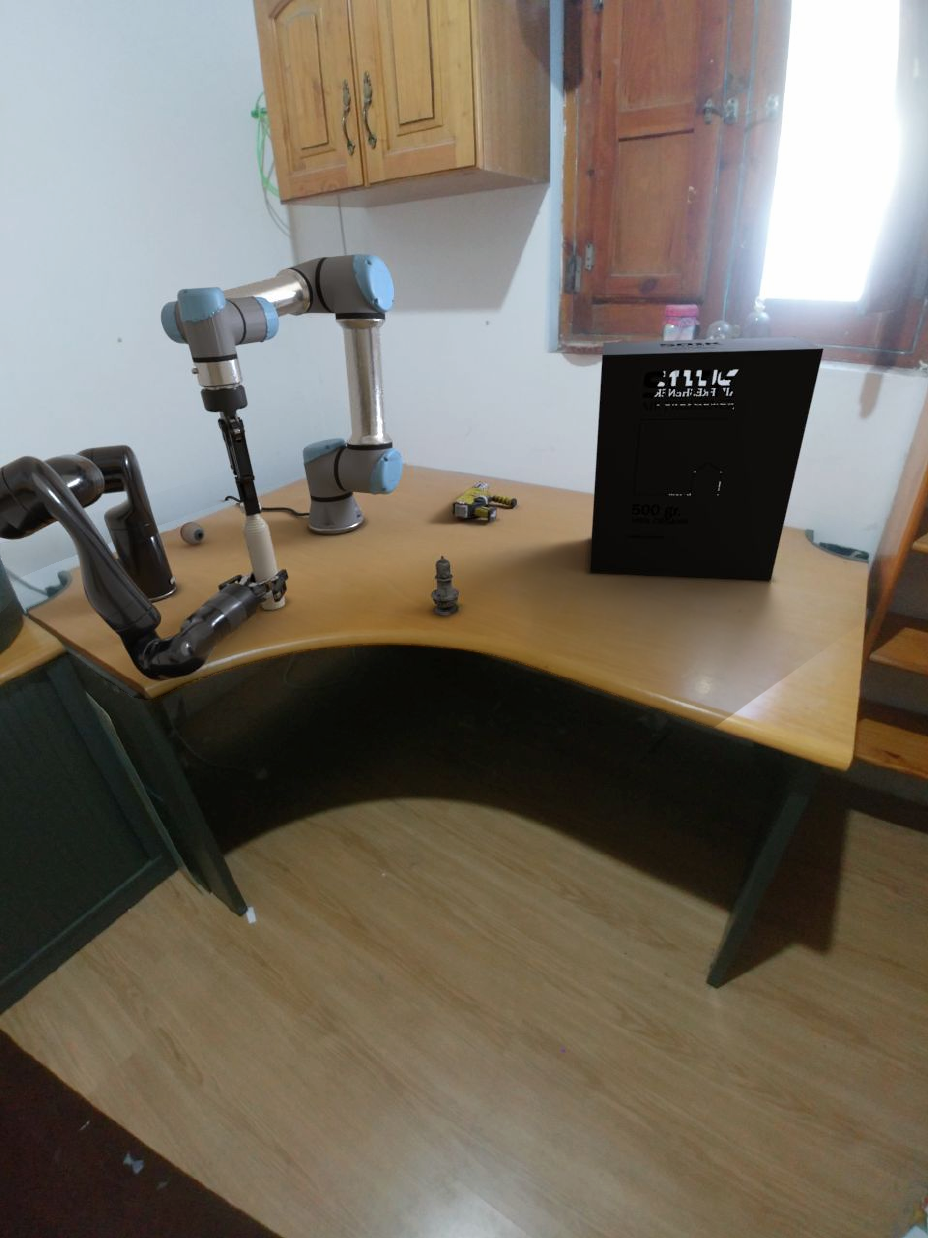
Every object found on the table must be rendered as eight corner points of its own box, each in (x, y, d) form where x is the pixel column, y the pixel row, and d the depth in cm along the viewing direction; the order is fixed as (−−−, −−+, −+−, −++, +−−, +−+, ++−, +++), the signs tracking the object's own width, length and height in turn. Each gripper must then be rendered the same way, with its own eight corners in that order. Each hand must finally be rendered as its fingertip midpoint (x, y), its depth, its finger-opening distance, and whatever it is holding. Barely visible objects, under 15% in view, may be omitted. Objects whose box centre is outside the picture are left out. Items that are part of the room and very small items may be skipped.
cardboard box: (751, 542, 144) (793, 336, 122) (770, 580, 127) (823, 348, 105) (591, 537, 152) (603, 342, 130) (589, 572, 135) (602, 354, 112)
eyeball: (193, 549, 159) (187, 528, 156) (179, 545, 162) (172, 524, 159) (212, 541, 163) (206, 520, 160) (198, 538, 166) (191, 517, 163)
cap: (237, 512, 118) (235, 505, 118) (249, 506, 121) (247, 499, 121) (253, 514, 117) (251, 506, 116) (265, 507, 120) (263, 500, 119)
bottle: (272, 612, 127) (248, 512, 116) (257, 606, 129) (232, 508, 118) (290, 602, 130) (268, 504, 119) (274, 597, 133) (252, 500, 122)
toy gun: (525, 486, 181) (478, 479, 184) (503, 510, 160) (450, 501, 164) (523, 501, 183) (477, 494, 187) (501, 526, 163) (450, 518, 167)
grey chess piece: (457, 617, 121) (453, 562, 115) (428, 615, 122) (423, 561, 116) (463, 603, 126) (459, 550, 120) (435, 601, 127) (431, 549, 121)
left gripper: (256, 596, 111) (300, 558, 125) (190, 590, 115) (240, 554, 129) (265, 630, 115) (307, 590, 129) (200, 624, 118) (248, 585, 133)
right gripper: (194, 382, 113) (225, 503, 124) (205, 394, 100) (239, 527, 111) (235, 378, 116) (262, 495, 127) (252, 389, 102) (280, 519, 114)
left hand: (273, 572), depth 129 cm, fingers closed on bottle, 5 cm apart
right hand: (251, 510), depth 119 cm, fingers closed on cap, 4 cm apart
